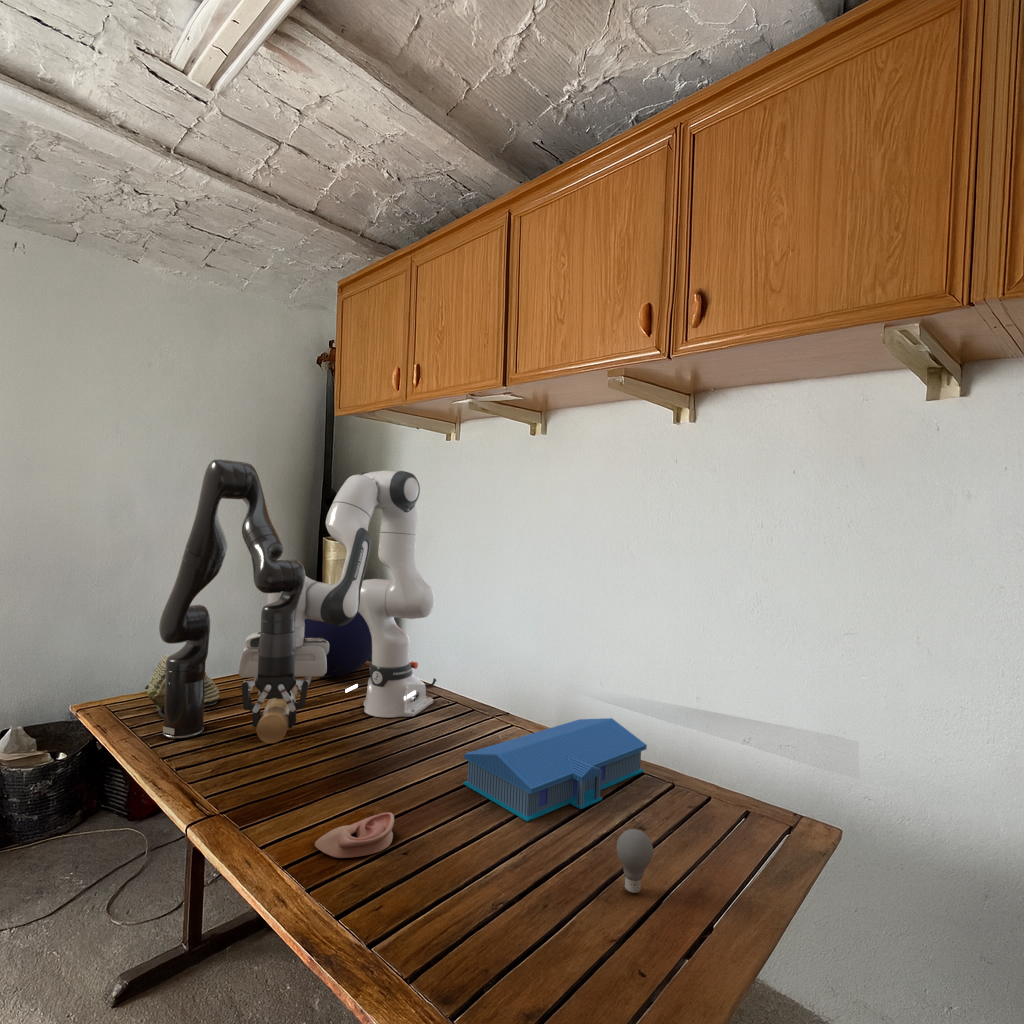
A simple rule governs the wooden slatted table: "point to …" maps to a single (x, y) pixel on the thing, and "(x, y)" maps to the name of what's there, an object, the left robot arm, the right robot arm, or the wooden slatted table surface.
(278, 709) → the rod
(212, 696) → the fossil
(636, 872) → the light bulb
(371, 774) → the wooden slatted table surface
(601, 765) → the model building
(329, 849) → the anatomical model
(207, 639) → the left robot arm
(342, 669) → the globe
